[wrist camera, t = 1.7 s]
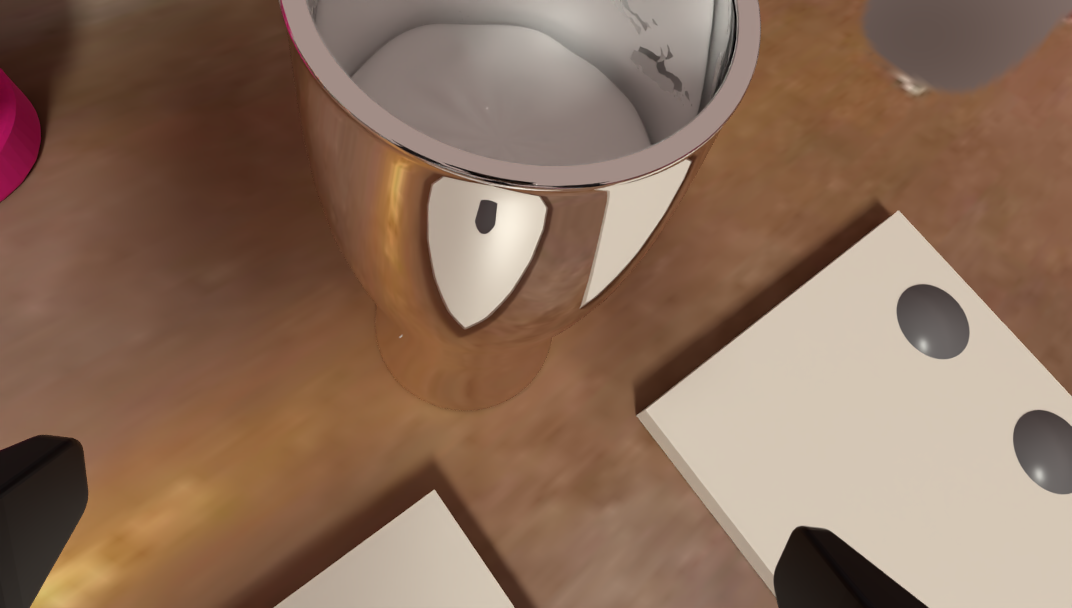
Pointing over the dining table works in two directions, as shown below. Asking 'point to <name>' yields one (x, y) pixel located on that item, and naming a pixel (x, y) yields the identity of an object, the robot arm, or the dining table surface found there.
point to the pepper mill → (16, 136)
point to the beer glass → (505, 161)
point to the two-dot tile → (886, 431)
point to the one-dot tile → (407, 568)
